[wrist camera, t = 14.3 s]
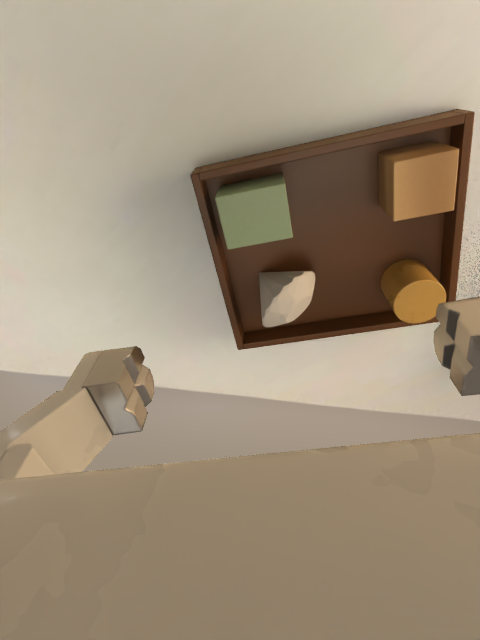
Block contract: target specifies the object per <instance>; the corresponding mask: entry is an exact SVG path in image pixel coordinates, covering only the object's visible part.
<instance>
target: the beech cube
mask: <svg viewBox="0 0 480 640" xmlns="http://www.w3.org/2000/svg"><path fill="white" fill-rule="evenodd" d="M458 158H459V149H458V148H455V147H453V146H450V145H447V144H444V143H442V142H439V141H436V140H433V141H428V142H423V143H419V144H414V145H409V146H405V147H400V148H395V149H391V150H386V151H381V152H378V176H379V206H380V207H381V208H382V209H383V210H384V211H385V212H386V213H387V215H388V216H389V217H390V218H391V219H392V220H393V221H400V220H405V219H410V218H416V217H421V216H427V215H432V214H438V213H443V212H448V211H453V210H454V204H455V192H456V181H457V169H458Z"/></svg>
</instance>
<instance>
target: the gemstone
mask: <svg viewBox="0 0 480 640" xmlns="http://www.w3.org/2000/svg"><path fill="white" fill-rule="evenodd" d="M259 281H260V297H261V312H262V324H263V326H265V327H274V326H278V325H282V324H285V323H289V322H292V321H293V320H295V319H296V318H297V317H298V316H300V315H301V314H302V313H303V312H304V310H305V309H306V308H307V307H308V305H309V304H310V302H311V300H312V295H313V291H314V285H315V273H313V272H312V271H290V272H259Z"/></svg>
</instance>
